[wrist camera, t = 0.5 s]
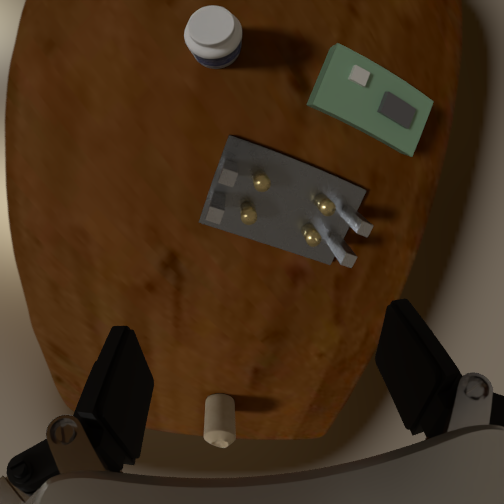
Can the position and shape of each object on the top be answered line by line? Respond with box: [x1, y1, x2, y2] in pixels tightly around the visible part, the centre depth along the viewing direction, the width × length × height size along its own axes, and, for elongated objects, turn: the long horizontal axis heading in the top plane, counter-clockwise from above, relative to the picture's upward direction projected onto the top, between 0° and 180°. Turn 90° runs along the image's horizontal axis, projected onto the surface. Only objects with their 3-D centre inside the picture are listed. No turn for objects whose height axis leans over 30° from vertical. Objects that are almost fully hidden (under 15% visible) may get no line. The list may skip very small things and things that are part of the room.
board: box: [307, 43, 434, 157], centre depth 26 cm, size 7×12×3 cm, turn 70°
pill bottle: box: [184, 6, 242, 69], centre depth 24 cm, size 5×5×10 cm
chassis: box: [199, 135, 373, 268], centre depth 34 cm, size 11×18×7 cm, turn 70°
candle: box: [204, 394, 236, 448], centre depth 48 cm, size 6×6×10 cm
